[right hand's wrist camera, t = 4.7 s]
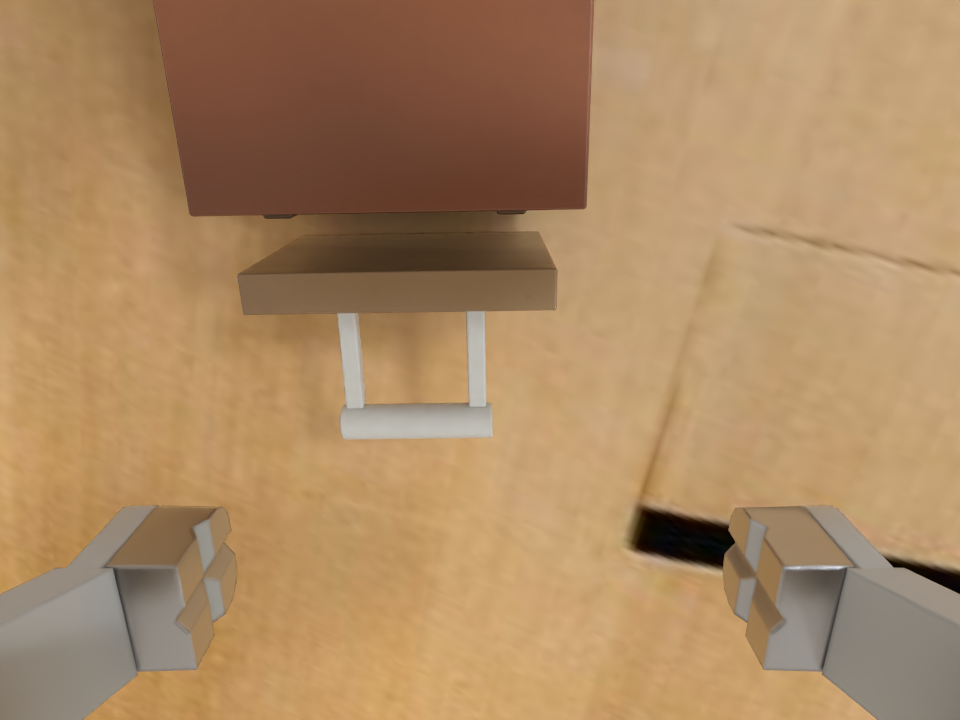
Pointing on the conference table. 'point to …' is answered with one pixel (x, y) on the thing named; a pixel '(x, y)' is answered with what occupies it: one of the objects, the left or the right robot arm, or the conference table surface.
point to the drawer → (406, 307)
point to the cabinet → (379, 104)
